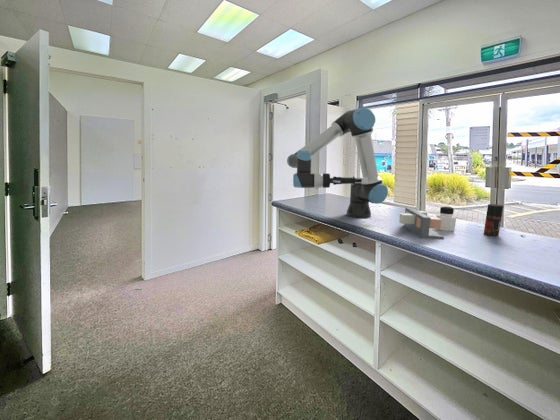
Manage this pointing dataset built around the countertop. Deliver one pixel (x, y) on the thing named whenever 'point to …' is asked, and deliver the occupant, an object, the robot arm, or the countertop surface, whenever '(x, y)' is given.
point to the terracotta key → (434, 222)
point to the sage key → (419, 211)
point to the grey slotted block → (422, 226)
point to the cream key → (407, 218)
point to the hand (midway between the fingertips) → (367, 180)
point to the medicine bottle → (447, 219)
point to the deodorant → (493, 220)
